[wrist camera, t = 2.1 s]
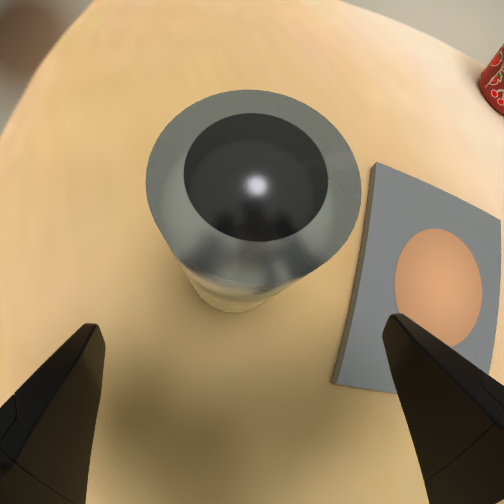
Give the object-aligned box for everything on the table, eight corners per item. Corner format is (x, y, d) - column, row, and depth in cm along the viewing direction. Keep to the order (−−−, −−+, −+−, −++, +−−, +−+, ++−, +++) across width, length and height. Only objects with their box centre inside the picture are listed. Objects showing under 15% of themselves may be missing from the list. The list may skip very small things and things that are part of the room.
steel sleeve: (264, 322, 20) (342, 310, 7) (179, 298, 20) (112, 244, 7) (285, 240, 21) (370, 123, 8) (204, 217, 21) (191, 72, 8)
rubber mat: (474, 398, 20) (483, 400, 19) (331, 381, 19) (337, 384, 18) (493, 223, 24) (500, 220, 23) (371, 167, 23) (376, 161, 22)
